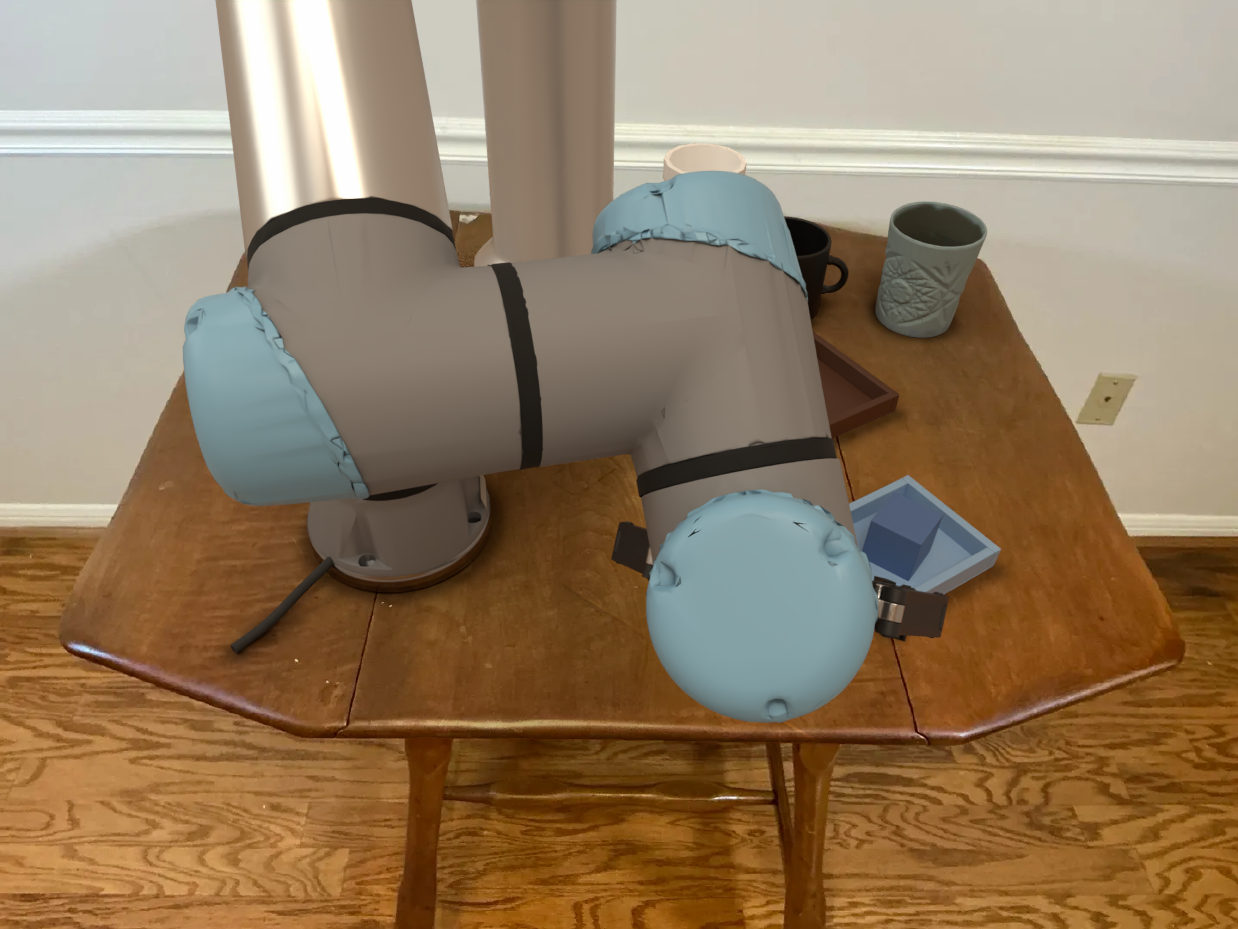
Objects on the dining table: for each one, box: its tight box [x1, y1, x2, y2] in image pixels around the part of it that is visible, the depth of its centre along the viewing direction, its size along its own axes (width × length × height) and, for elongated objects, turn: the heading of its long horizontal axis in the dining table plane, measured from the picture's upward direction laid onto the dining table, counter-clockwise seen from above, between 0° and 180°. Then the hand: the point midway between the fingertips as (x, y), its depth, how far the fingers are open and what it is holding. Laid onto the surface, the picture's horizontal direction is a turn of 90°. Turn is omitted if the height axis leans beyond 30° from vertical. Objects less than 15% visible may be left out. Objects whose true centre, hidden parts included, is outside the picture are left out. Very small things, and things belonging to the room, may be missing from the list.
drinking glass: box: [874, 200, 988, 339], centre depth 105 cm, size 10×10×12 cm
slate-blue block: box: [862, 492, 943, 581], centre depth 79 cm, size 4×4×4 cm
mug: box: [784, 215, 849, 321], centre depth 107 cm, size 9×12×9 cm
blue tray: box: [849, 474, 1002, 595], centre depth 80 cm, size 13×11×3 cm
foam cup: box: [662, 142, 748, 182], centre depth 113 cm, size 10×9×13 cm
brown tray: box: [813, 331, 900, 440], centre depth 95 cm, size 17×14×3 cm
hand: (776, 573), depth 65 cm, fingers open, 13 cm apart
